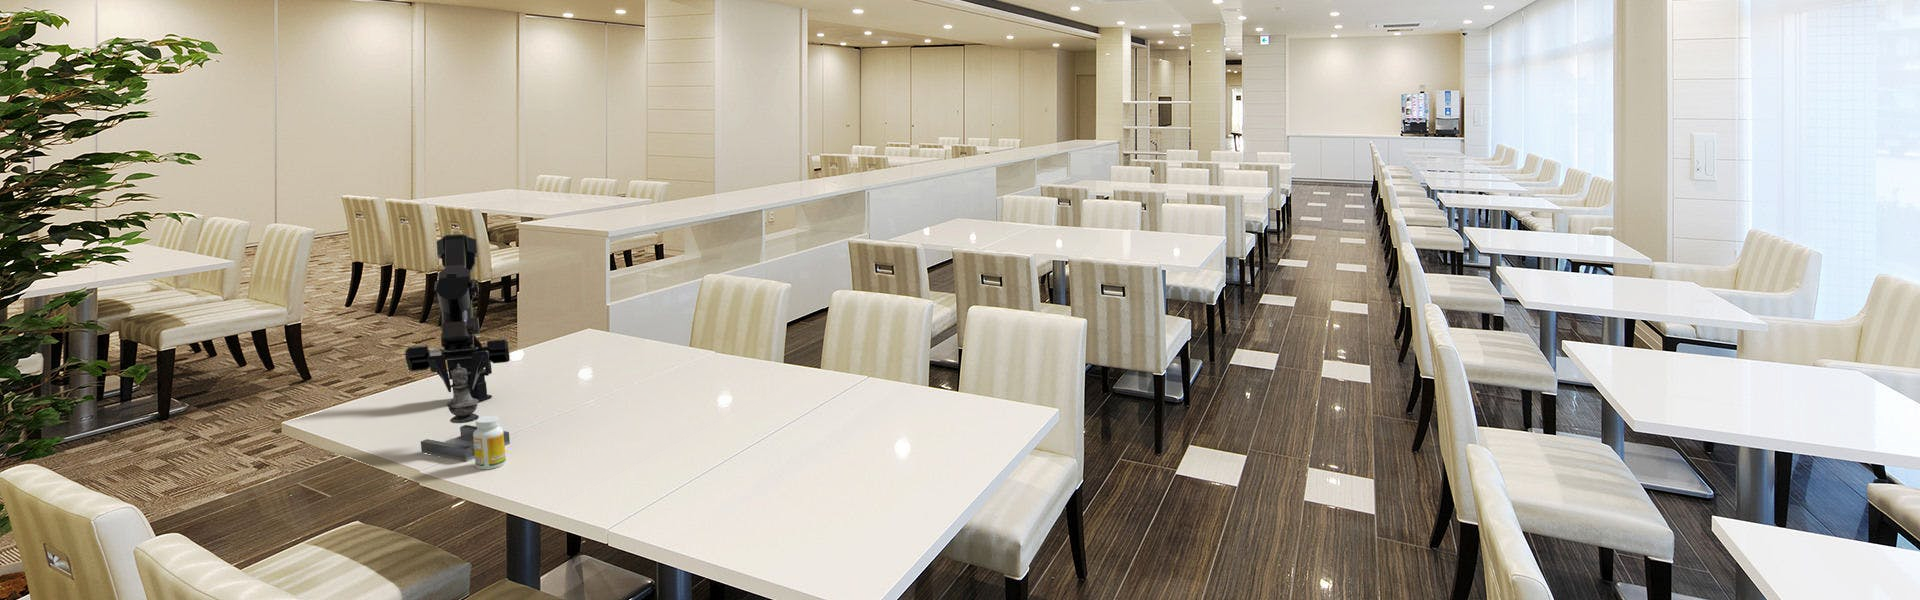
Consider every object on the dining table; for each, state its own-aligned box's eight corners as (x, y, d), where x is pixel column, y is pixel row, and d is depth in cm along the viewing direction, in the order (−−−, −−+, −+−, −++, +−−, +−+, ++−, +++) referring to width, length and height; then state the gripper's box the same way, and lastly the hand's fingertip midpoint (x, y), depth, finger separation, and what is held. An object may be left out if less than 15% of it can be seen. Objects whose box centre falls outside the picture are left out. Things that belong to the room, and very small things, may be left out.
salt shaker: (459, 425, 185) (452, 368, 182) (442, 420, 188) (435, 364, 185) (486, 417, 190) (480, 361, 187) (469, 412, 193) (463, 357, 190)
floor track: (421, 453, 187) (420, 441, 186) (466, 436, 197) (465, 424, 196) (466, 461, 183) (465, 449, 182) (509, 443, 193) (508, 431, 192)
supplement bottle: (472, 470, 178) (467, 424, 176) (481, 460, 183) (476, 415, 181) (501, 469, 179) (497, 422, 177) (509, 459, 184) (505, 414, 182)
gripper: (400, 308, 183) (401, 376, 176) (504, 301, 191) (509, 365, 184) (408, 337, 192) (409, 403, 184) (507, 329, 200) (512, 391, 192)
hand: (460, 390), depth 186 cm, fingers closed on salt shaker, 4 cm apart
